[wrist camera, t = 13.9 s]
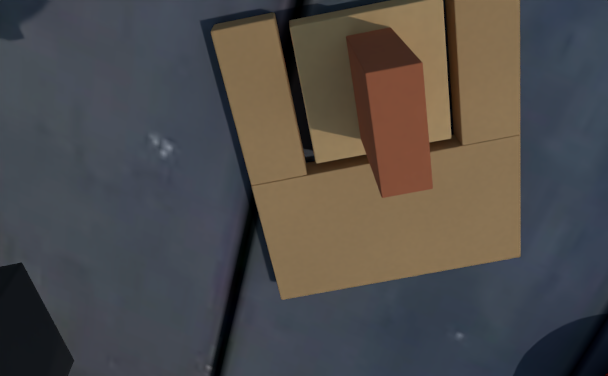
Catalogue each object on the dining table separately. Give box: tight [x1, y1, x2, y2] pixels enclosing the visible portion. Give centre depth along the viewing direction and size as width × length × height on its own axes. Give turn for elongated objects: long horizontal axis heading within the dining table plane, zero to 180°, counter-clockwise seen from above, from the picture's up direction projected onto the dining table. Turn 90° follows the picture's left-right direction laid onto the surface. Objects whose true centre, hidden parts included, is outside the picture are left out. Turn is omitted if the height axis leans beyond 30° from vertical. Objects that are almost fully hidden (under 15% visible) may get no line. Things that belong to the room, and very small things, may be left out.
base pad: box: [211, 0, 520, 300], centre depth 33 cm, size 16×18×2 cm
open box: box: [289, 0, 451, 198], centre depth 28 cm, size 8×8×9 cm
